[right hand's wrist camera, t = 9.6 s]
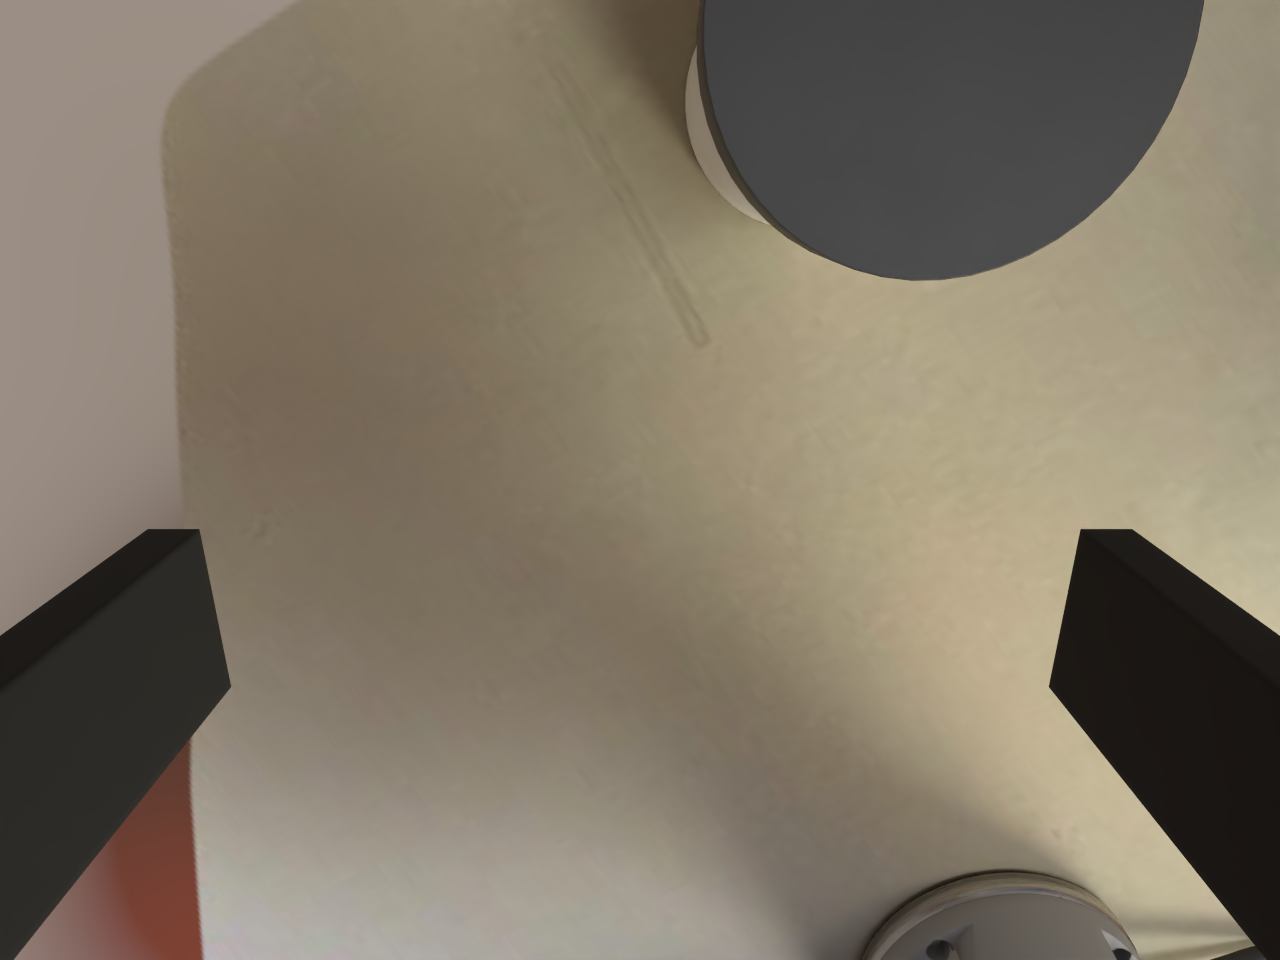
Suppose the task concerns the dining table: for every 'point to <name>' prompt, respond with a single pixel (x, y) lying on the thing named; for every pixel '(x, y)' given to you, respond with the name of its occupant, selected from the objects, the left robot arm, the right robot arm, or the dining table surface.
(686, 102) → the jar
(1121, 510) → the dining table surface
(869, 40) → the lid
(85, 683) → the right robot arm
